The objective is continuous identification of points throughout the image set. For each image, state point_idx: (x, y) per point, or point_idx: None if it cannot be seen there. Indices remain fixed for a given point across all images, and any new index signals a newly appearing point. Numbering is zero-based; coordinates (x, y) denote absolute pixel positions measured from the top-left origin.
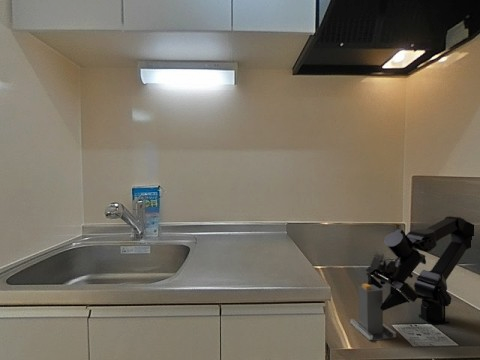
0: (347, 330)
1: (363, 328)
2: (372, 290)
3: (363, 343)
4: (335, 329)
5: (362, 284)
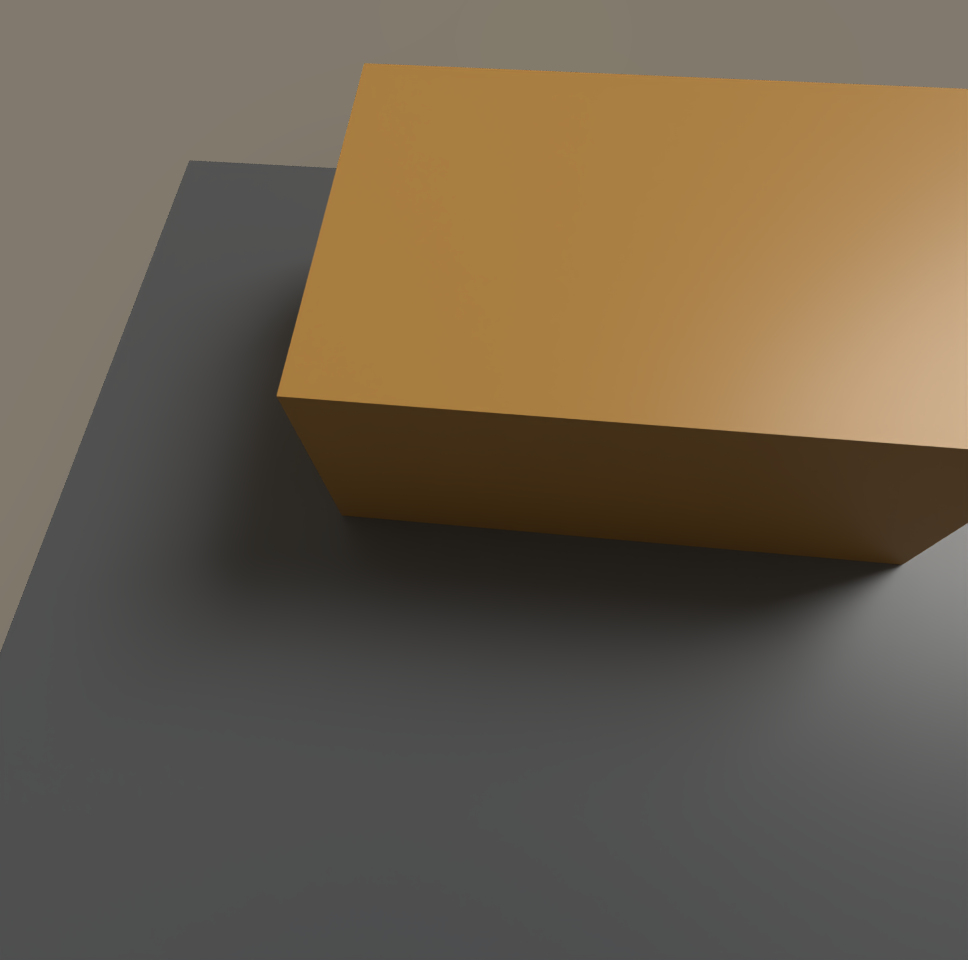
0: None
1: None
2: (137, 456)
3: None
4: None
5: (902, 121)
